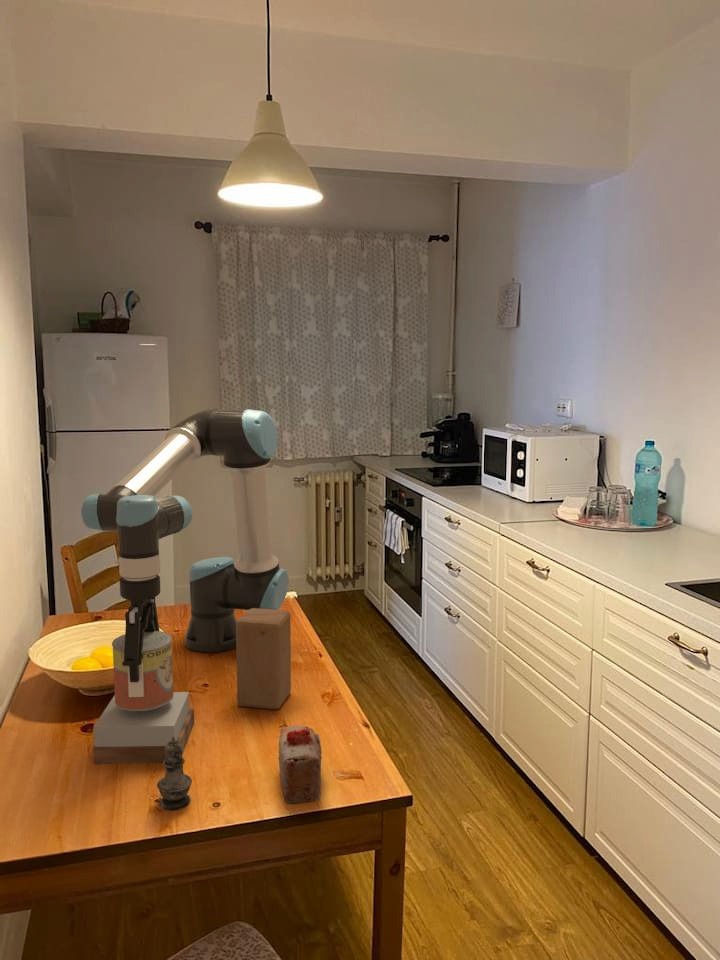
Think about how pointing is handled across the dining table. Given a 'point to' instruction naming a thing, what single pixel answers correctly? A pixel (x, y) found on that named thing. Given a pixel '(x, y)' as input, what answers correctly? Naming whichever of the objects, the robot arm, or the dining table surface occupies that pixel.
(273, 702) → the wooden block
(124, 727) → the grey block
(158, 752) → the walnut block
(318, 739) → the food item
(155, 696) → the canned food
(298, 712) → the dining table surface
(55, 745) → the dining table surface
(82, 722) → the dining table surface
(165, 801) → the dark chess piece
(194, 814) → the dining table surface
